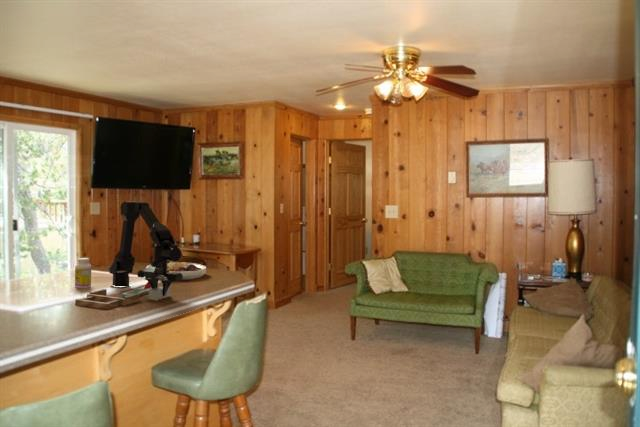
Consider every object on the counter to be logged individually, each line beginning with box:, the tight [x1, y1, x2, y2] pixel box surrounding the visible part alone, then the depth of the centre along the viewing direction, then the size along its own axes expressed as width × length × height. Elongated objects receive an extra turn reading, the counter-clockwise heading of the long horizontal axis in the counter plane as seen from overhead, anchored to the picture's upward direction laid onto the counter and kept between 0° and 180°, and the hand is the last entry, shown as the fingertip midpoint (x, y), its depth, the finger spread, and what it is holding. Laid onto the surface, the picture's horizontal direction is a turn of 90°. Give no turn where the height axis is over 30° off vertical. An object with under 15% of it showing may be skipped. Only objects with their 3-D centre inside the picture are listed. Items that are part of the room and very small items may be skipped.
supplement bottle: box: [74, 257, 92, 289], centre depth 232 cm, size 7×7×13 cm
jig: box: [74, 288, 141, 310], centre depth 205 cm, size 18×17×3 cm
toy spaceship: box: [120, 281, 161, 298], centre depth 225 cm, size 27×11×5 cm, turn 171°
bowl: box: [146, 261, 207, 281], centre depth 270 cm, size 30×30×8 cm
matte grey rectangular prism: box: [148, 285, 171, 301], centre depth 218 cm, size 4×9×4 cm, turn 162°
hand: (159, 295), depth 218 cm, fingers closed on matte grey rectangular prism, 4 cm apart
